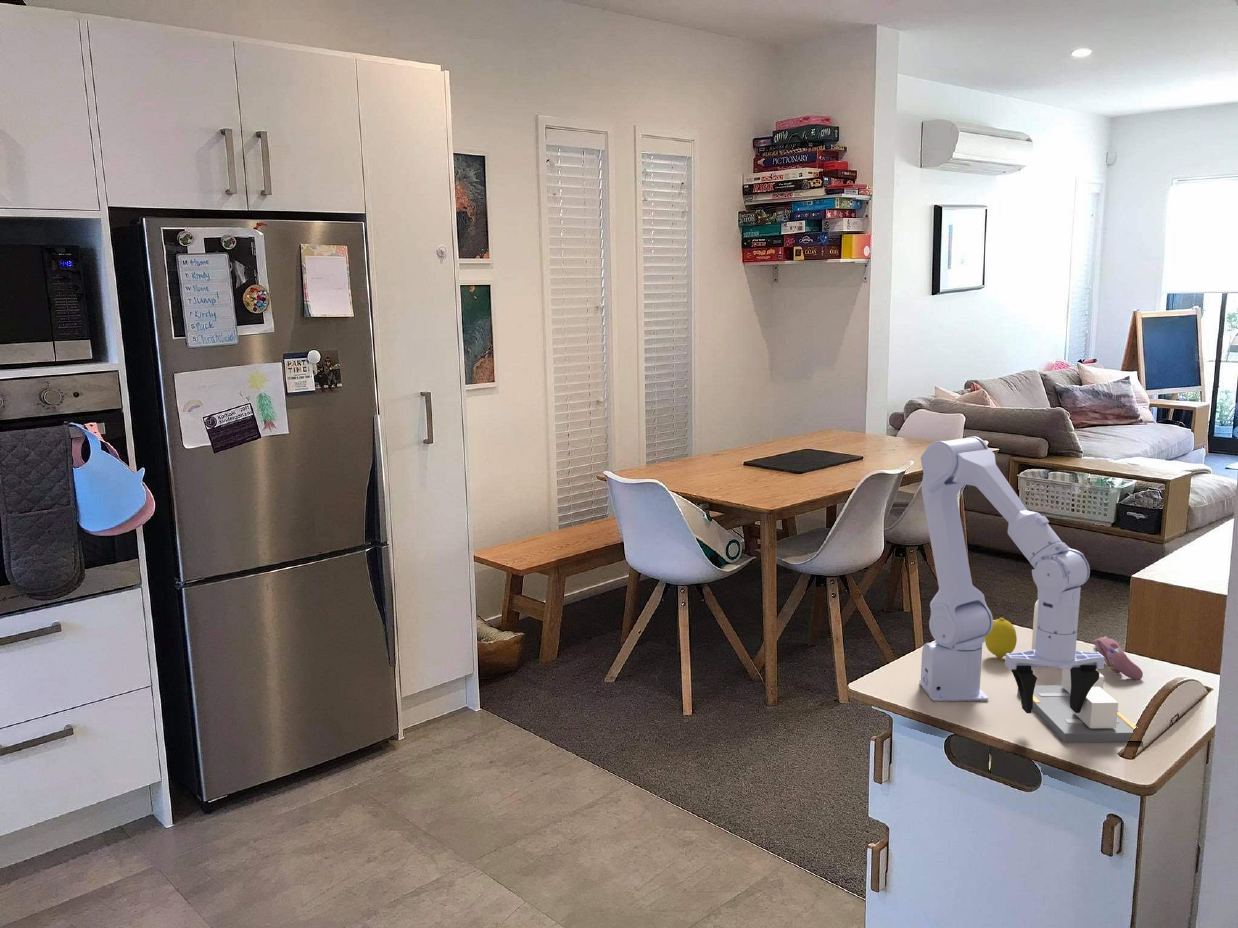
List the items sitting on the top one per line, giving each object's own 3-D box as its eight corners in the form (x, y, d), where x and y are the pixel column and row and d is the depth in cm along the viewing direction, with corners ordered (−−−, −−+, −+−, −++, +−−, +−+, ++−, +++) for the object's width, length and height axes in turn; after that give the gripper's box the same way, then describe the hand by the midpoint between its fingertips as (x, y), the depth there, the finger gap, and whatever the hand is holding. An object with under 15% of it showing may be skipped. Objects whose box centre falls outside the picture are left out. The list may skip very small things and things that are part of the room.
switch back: (1077, 700, 160) (1079, 676, 160) (1061, 685, 166) (1063, 662, 166) (1102, 700, 160) (1104, 676, 160) (1085, 685, 166) (1086, 662, 165)
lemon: (1019, 663, 181) (1022, 622, 179) (989, 664, 181) (992, 623, 179) (1008, 652, 186) (1011, 612, 185) (979, 652, 186) (981, 612, 185)
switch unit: (1064, 742, 150) (1065, 732, 150) (1017, 693, 168) (1018, 684, 167) (1142, 741, 150) (1143, 731, 150) (1087, 693, 168) (1088, 684, 167)
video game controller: (1099, 667, 183) (1085, 635, 182) (1123, 657, 182) (1108, 625, 181) (1121, 689, 173) (1105, 655, 172) (1146, 678, 172) (1131, 644, 171)
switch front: (1090, 728, 151) (1092, 702, 150) (1072, 711, 156) (1074, 686, 156) (1116, 727, 151) (1118, 702, 150) (1097, 711, 156) (1099, 686, 156)
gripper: (1020, 637, 147) (1014, 722, 149) (1116, 636, 147) (1109, 721, 149) (1002, 621, 154) (997, 702, 156) (1094, 620, 154) (1088, 701, 156)
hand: (1050, 710), depth 153 cm, fingers open, 7 cm apart
